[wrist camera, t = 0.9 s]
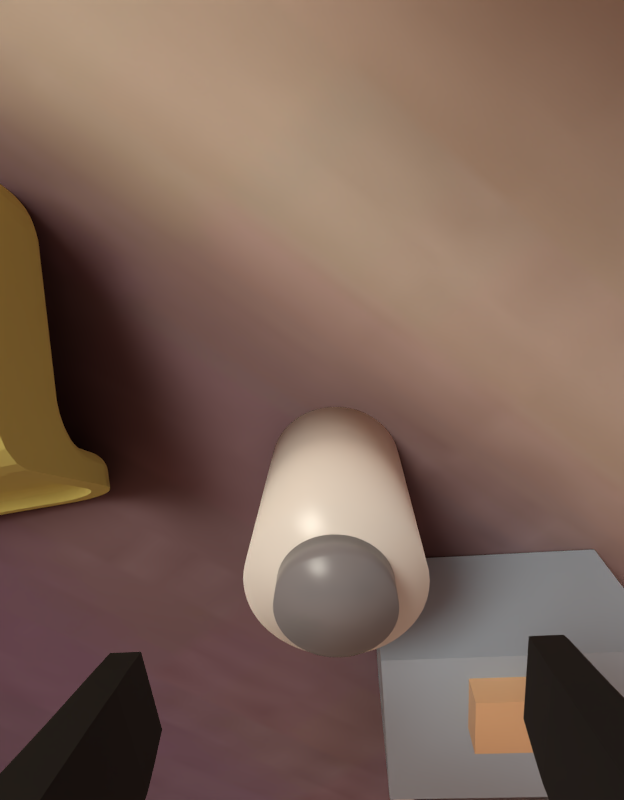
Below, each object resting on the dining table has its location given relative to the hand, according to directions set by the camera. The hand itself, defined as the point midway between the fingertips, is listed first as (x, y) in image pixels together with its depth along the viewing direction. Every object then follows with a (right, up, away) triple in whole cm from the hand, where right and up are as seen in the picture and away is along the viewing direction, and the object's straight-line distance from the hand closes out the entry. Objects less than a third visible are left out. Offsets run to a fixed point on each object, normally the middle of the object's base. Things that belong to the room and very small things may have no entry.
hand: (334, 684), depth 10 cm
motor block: (+6, -3, +10) cm, 12 cm away
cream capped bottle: (0, +3, +8) cm, 9 cm away
